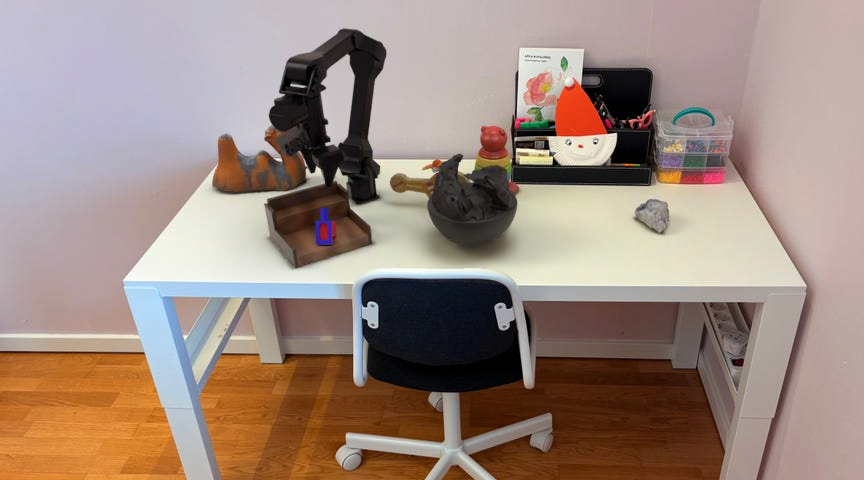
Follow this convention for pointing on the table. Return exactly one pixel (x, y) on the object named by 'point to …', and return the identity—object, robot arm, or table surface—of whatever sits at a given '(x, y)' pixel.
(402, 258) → the table surface
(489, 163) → the stacking bear
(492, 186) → the coal bowl
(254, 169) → the camel toy
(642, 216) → the mineral specimen
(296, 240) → the shelf
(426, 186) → the toy helicopter
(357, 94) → the robot arm
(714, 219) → the table surface
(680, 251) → the table surface
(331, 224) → the toy building block
